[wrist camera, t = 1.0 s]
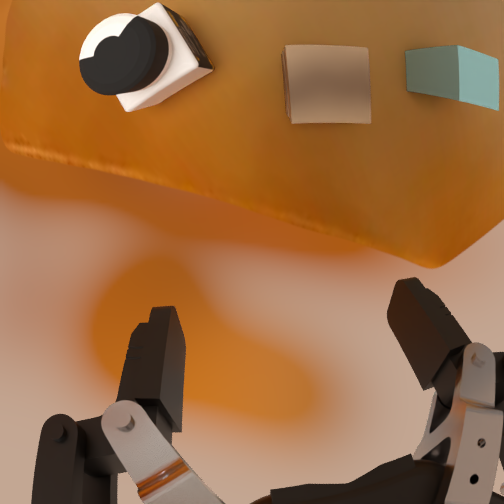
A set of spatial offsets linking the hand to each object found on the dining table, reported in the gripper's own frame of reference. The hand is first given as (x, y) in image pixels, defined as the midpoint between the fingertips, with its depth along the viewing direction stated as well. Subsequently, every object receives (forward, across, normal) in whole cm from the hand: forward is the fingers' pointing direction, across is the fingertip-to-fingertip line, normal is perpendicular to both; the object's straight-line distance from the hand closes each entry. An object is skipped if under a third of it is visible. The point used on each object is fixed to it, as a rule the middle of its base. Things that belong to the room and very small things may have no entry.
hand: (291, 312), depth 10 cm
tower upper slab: (+18, -6, -7) cm, 20 cm away
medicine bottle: (+24, +7, -11) cm, 27 cm away
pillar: (+20, -19, -10) cm, 29 cm away
